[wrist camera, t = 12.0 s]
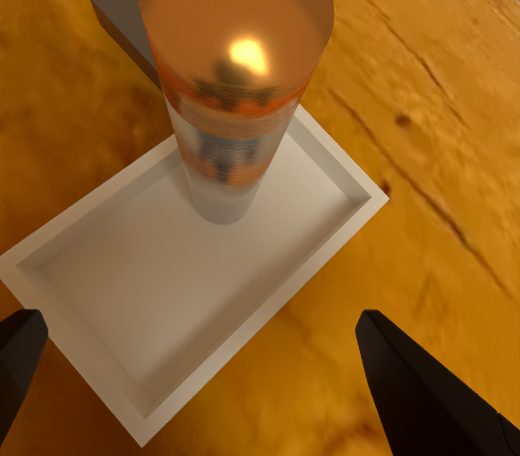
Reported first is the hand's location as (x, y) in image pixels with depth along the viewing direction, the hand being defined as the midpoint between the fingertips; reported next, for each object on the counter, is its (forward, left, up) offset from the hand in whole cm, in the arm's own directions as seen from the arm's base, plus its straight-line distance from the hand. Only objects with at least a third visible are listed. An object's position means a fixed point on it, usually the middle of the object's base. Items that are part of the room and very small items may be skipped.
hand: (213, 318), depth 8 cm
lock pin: (+5, -5, -8) cm, 11 cm away
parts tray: (+3, -3, -10) cm, 10 cm away
